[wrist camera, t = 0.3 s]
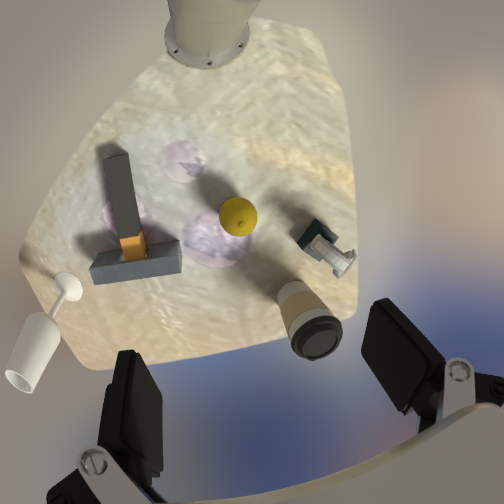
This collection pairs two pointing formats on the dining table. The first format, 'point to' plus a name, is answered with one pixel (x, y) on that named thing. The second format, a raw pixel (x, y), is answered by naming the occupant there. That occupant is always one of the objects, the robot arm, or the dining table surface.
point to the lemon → (238, 216)
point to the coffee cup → (308, 321)
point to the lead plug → (125, 206)
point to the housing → (137, 264)
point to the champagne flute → (40, 337)
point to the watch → (326, 248)
